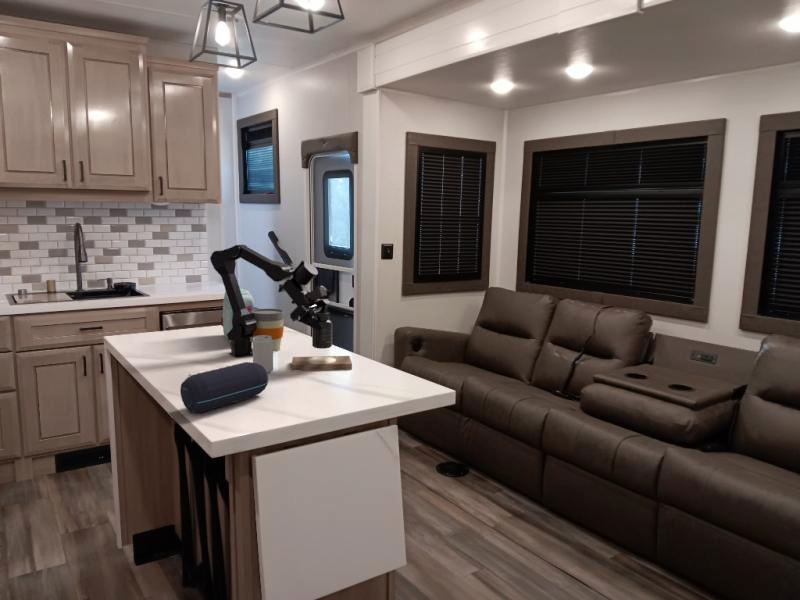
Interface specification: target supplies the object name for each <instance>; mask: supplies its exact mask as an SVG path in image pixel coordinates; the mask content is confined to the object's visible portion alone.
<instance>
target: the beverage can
mask: <svg viewBox="0 0 800 600" xmlns="http://www.w3.org/2000/svg"><path fill="white" fill-rule="evenodd" d="M252 354H253V355H252V363H257V364H260V365H261V366H263V367H264V368H265V370H266V371H267V374H268V373H269V374H271V373H272V372H273V371H274V352H273V340H272V337H271V336H269V335H259V336H255V337H254V340H253V342H252ZM269 374H268V375H269Z"/></svg>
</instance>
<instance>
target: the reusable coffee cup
mask: <svg viewBox="0 0 800 600" xmlns="http://www.w3.org/2000/svg"><path fill="white" fill-rule="evenodd" d="M284 311H285V310H283V309H279V308H259V309H254V310H253V311H252V312H253V313H254V314H255V319H256V321H257V322H258V323H256V324H257V328H256V331H255V332H254V334H253V338H254V337H255V336H259V335H269V336H271V337H272V340H273V351H276V352H278V350H279V351H280V350H281V343H282V338H283V337H284V326H285V325H284V319H285V318H286V317H285V312H284ZM252 312H251V313H252Z"/></svg>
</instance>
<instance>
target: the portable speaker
mask: <svg viewBox="0 0 800 600" xmlns="http://www.w3.org/2000/svg"><path fill="white" fill-rule="evenodd" d="M215 369H216V370H215ZM210 370H211V371H207V370H205V371H206V372H203V373H198V374H195V375H192V376H190V375H189V376H188V377H187V378H186V379H184V381H183V382H182V383H181V384H180V388H179V392H180V398H181V402H182V403H183V406H184V407H185V408H186V409H187V411H189V412H190V413H202V412H203V411H204V412H206V411H210V410H213V409H217V408H219V407H224V406H226V405H231V404H234V403H237V402H240V401H244V400H246V399H249V398H250V399H251V398H252V397H256V396H257V395H258V396H259V394H261V393H262V392H264V391H265V390H266V388H267V386H268V383H269V376H268V375H269V374H267V371H266V370H265V368H264V367H263V366H261V365H260V364H257V363H253V361H252V362H250V361H244V362H241V363H236V364H233V365H227V366H224V367H220V368H219V367H218V368H214V370H213V369H210Z"/></svg>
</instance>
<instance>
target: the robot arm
mask: <svg viewBox="0 0 800 600" xmlns="http://www.w3.org/2000/svg"><path fill="white" fill-rule="evenodd" d="M209 259H210V263H211V265H212V267H213V269H214V270H215V271H216V272H217V274H218V275H219V276H220V278H221V280H222V284H223V286H224V290H225V291H226V293H227V296H228V299H229V302H230V305H231V308H232V311H233V318H232V326H233V328H232V329H231V330H230V331H229V333H228V334H227V337H228V340H231V343H230V352H229V353H228V354H229V355H231V356H233V357H235V358H242V357H249V356H253V342H251V341H250V338H249V337H253V334H254V332H255V331H256V328H257V324H256V323H258V322H257V321H256V319H255V314H254V313H253V312H252V313H250V312H249V311H248V310H247V309H246V306H245V303H244V300H243V297H242V294H241V291H240V288H239V287H240V286H239V283H238V279H237V277H236V273H235V271H236V266H237V265H236V264H237V262H236V261H237V260H239V259H242V260H244V261H246V262H248V263H249V264H250V265H253V266H255V267H256V268H259V269H260V270H262V271H263V272H264V273H265V275H266V276H267V277H268V278H270V279H271V280H272V281H273V282H276V283H278V282H279V283H280V282H283V283H281V284H279V285H278V286H279V287H278V291H277V292H278V293H283V292H285V293H286V294H287V295H288V296H289V298H290V299H291V300H292V301H291V304H292V305H296V307H295V308H294V309H293V310H292V311H291V312H290V314H289V318H290V319H291V320H292V321H293V322H298V323H302V324H304V325H306V326H308V327H311V328H314V329H316V330H318V331H320V330H321V329H322V328H321V327H320V325H319V323H318V322H317V320H316V318H315V316H316V312H320V311H325V312H328V308H329V305H331V302H330V300H329V299H328V298H324V297H327V296H328V294H327V293H328V288H326V287H325V286H324V285H319V286H317V287H316V288H315V289H313V290H309V289H305V287H304V286H307V285H308V284H310V282H311V281H312V280H313V279H314V278H315V277H316V276H317V275H318V274H319V271H318V269H317V268H316V266H314V265H313V264H311V263H310V262H308V261H307V260H306V259H305V260H301V261H300V263H299V264H298V265H297V266H296V267H295V268H293V267H291V265H289V264H287V263H284V262H281V261H276V260H272V259H270V258H268V257H267V256H264V255H262V254H260V253H259V252H257V251H255V250H254V249H252V248H250V247H248V246H247V245H246V244H236V245H234V246H231V247H228V248H225V249H222V250H214V251H213V252H212V253H211V256H210V257H209ZM284 281H285V282H284ZM321 298H322V299H321ZM329 320H331V319H330V318H329ZM228 340H227V341H228Z"/></svg>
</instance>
